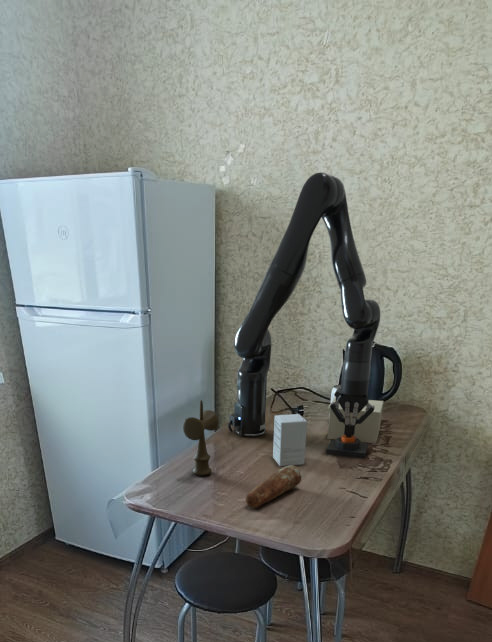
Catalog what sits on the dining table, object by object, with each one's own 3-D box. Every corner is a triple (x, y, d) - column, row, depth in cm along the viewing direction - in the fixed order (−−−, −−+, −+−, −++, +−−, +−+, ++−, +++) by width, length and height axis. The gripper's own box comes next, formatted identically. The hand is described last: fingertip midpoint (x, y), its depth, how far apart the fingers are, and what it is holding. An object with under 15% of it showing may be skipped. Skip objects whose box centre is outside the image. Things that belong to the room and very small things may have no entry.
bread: (302, 487, 146) (304, 467, 143) (258, 512, 133) (259, 490, 130) (281, 481, 150) (282, 461, 147) (236, 505, 137) (237, 483, 134)
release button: (339, 444, 168) (340, 438, 167) (341, 440, 171) (342, 434, 170) (354, 446, 167) (354, 439, 166) (355, 442, 170) (356, 435, 169)
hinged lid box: (327, 438, 181) (330, 410, 177) (333, 426, 192) (336, 400, 188) (375, 443, 176) (379, 415, 172) (379, 430, 188) (383, 403, 184)
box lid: (327, 410, 177) (328, 394, 175) (334, 399, 188) (335, 384, 186) (379, 415, 172) (381, 398, 170) (383, 403, 184) (385, 387, 181)
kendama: (183, 477, 153) (181, 403, 143) (201, 466, 160) (200, 394, 151) (202, 481, 150) (202, 406, 141) (220, 469, 157) (220, 397, 148)
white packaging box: (296, 456, 167) (299, 413, 161) (304, 465, 160) (308, 420, 154) (272, 457, 166) (274, 414, 160) (278, 466, 159) (281, 422, 153)
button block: (325, 454, 168) (326, 443, 166) (330, 444, 175) (331, 433, 174) (364, 458, 165) (365, 446, 163) (367, 448, 172) (368, 437, 171)
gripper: (329, 377, 159) (324, 438, 167) (379, 381, 155) (371, 442, 163) (333, 372, 165) (328, 430, 173) (381, 375, 161) (373, 435, 169)
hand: (349, 436), depth 168 cm, fingers closed
